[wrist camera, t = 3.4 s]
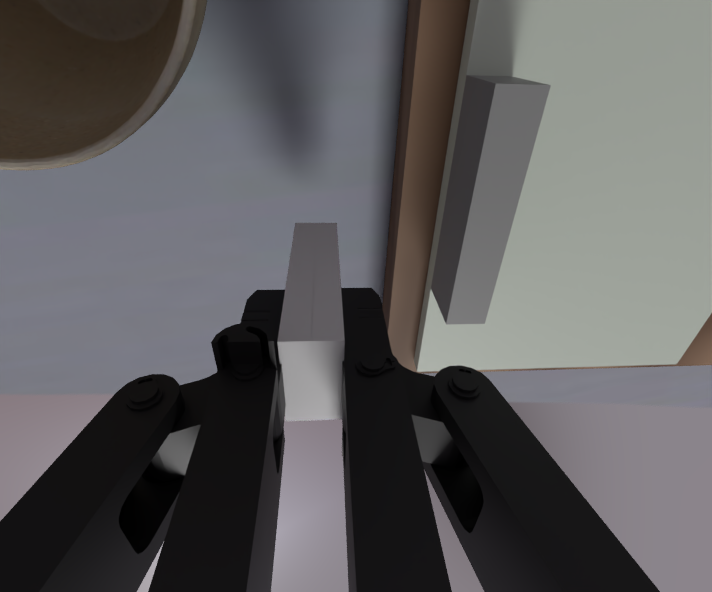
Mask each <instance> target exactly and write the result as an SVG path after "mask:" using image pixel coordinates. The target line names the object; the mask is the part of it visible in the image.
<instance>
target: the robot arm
mask: <svg viewBox="0 0 712 592" xmlns="http://www.w3.org/2000/svg"><path fill="white" fill-rule="evenodd" d="M211 343H212V348H213V352H214V357H215V361H216V365H217V370H218V371H217V373H215V374H213V375H211V376H210V377H207V378H204V379H202V380H199V381H195V382H191V383H187V384H183V385H180V386H179V384H178V383H177V381H176V380H175V379H174V378H173V377H170V376H167V375H164V374H152V375H148V376H144V377H140V378H137V379H135V380H133V381H131V382H129V383H127V384H126V385H125V386H124V387H122V388H121V389H120V390H119V391H118V392H117V393H116V394H115V395H114V396H113V397H112V398H111V399H110V400H109V401H108V403H107V404H106V405H105V406H104V407H103V408H102V409H101V410H100V412H99V413H98V414H97V415H96V416H95V417H94V418H93V419H92V420H91V422H90V423H89V424H88V425H87V426H86V427H85V428H84V429H83V430H82V431H81V433H80V434H79V435H78V436H77V437H76V438H75V439H74V440H73V441H72V443H71V444H70V445H69V446H68V447H67V448H66V449H65V450H64V451H63V453H62V454H61V455H60V456H59V457H58V458H57V459H56V460H55V461H54V462H53V464H52V465H51V466H50V467H49V468H48V469H47V470H46V471H45V472H44V474H43V475H42V476H41V477H40V478H39V479H38V480H37V481H36V483H35V484H34V485H33V486H32V487H31V488H30V489H29V490H28V491H27V492H26V494H25V495H24V496H23V497H22V498H21V499H20V500H19V501H18V502H17V504H16V505H15V506H14V507H13V508H12V509H11V510H10V511H9V513H8V514H7V515H6V516H5V517H4V518H3V519H2V520H1V521H0V592H137V590H138V588H139V586H140V584H141V583H142V581H143V579H144V577H145V575H146V573H147V572H148V570H149V568H150V566H151V564H152V562H153V560H154V559H155V557H156V555H157V553H158V551H159V549H160V547H161V546H162V544H163V547H162V550H161V553H160V556H159V559H158V563H157V566H156V569H155V572H154V575H153V579H152V582H151V585H150V588H149V591H148V592H271V582H272V572H273V560H274V551H275V540H276V529H277V519H278V518H277V517H278V508H279V497H280V486H281V476H282V465H283V454H284V443H285V438H284V429H283V426H284V416H285V420H286V421H307V420H336V419H342V422H343V432H342V456H343V465H344V486H345V487H344V488H345V510H346V511H345V512H346V535H347V558H348V582H349V592H452V591H451V587H450V582H449V578H448V574H447V569H446V564H445V560H444V556H443V551H442V547H441V542H440V538H439V534H438V529H437V525H436V520H435V516H434V512H433V508H432V503H431V498H430V494H429V490H428V486H427V481H426V476H425V472H424V470H425V471H426V474H427V476H428V478H429V480H430V482H431V484H432V486H433V488H434V490H435V492H436V494H437V496H438V498H439V500H440V502H441V504H442V506H443V508H444V510H445V512H446V514H447V516H448V518H449V520H450V522H451V524H452V526H453V529H454V531H455V533H456V535H457V537H458V538H459V541H460V543H461V545H462V547H463V549H464V551H465V553H466V555H467V557H468V559H469V561H470V563H471V565H472V567H473V569H474V571H475V573H476V575H477V577H478V579H479V581H480V583H481V585H482V587H483V590H484V591H485V592H660V591H659V590H658V589H657V587H656V586H655V585H654V584H653V583H652V581H651V580H650V579H649V578H648V576H647V575H646V574H645V573H644V572H643V570H642V569H641V568H640V566H639V565H638V564H637V563H636V561H635V560H634V559H633V558H632V557H631V555H630V554H629V553H628V551H627V550H626V549H625V548H624V547H623V545H622V544H621V543H620V542H619V540H618V539H617V538H616V537H615V535H614V534H613V533H612V532H611V531H610V529H609V528H608V527H607V525H606V524H605V523H604V522H603V520H602V519H601V518H600V517H599V516H598V514H597V513H596V512H595V510H594V509H593V508H592V507H591V506H590V504H589V503H588V502H587V500H586V499H585V498H584V497H583V496H582V494H581V493H580V492H579V491H578V489H577V488H576V487H575V486H574V484H573V483H572V482H571V481H570V479H569V478H568V477H567V476H566V475H565V473H564V472H563V471H562V470H561V468H560V467H559V466H558V465H557V463H556V462H555V461H554V459H553V458H552V457H551V456H550V455H549V453H548V452H547V451H546V450H545V448H544V447H543V446H542V445H541V443H540V442H539V441H538V440H537V438H536V437H535V436H534V435H533V433H532V432H531V431H530V430H529V428H528V427H527V426H526V425H525V424H524V422H523V421H522V420H521V419H520V417H519V416H518V415H517V414H516V413H515V411H514V410H513V409H512V407H511V406H510V405H509V404H508V402H507V401H506V400H505V399H504V397H503V396H502V395H501V394H500V392H499V391H498V390H497V389H496V387H495V386H494V385H493V384H492V382H491V381H490V380H489V379H488V378H487V377H486V376H484V375H483V374H482V373H481V372H479V371H477V370H475V369H473V368H470V367H465V366H461V365H457V366H448V367H446V368H443V369H441V370H440V371H439V372H438V373H437V374H436V376H435V377H434V376H429V375H425V374H421V373H417V372H414V371H411V370H409V369H407V368H405V367H403V366H402V365H401V364H400V363H399V362H398V360H397V358H396V357H395V356H394V355H393V353H392V351H391V346H390V341H389V337H388V332H387V327H386V323H385V319H384V313H383V310H382V304H381V299H380V297H379V295H378V294H377V293H376V292H375V291H374V290H373V289H372V288H341V279H340V264H339V250H338V235H337V223H295V229H294V235H293V242H292V248H291V255H290V262H289V268H288V275H287V281H286V288H285V290H256V291H255V292H254V293H253V294H252V295H251V296H250V297H249V298H248V299H247V302H246V305H245V309H244V313H243V316H242V319H241V323H240V324H236V325H233V326H230V327H228V328H225V329H224V330H222V331H221V332H220V333H218V334H217V335H216V336H215V338H214V339H213V341H212V342H211ZM163 542H164V543H163Z"/></svg>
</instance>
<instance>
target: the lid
mask: <svg viewBox="0 0 712 592" xmlns="http://www.w3.org/2000/svg"><path fill="white" fill-rule="evenodd" d="M711 313H712V0H470V7H469V13H468V19H467V26H466V32H465V38H464V45H463V51H462V58H461V64H460V70H459V77H458V83H457V89H456V96H455V102H454V108H453V115H452V121H451V128H450V134H449V140H448V147H447V153H446V159H445V166H444V172H443V178H442V185H441V191H440V198H439V204H438V210H437V217H436V223H435V229H434V236H433V242H432V248H431V255H430V261H429V268H428V274H427V280H426V287H425V293H424V299H423V306H422V312H421V318H420V325H419V331H418V338H417V344H416V350H415V357H414V363H415V367H416V370H417V372H427V371H440V370H441V369H443V368H446V367H448V366H457V365H461V366H465V367H470V368H473V369H475V370H496V369H531V368H566V367H600V366H635V365H670V364H677V363H678V362H679V360H680V359H681V357H682V356H683V354H684V353H685V351H686V350H687V348H688V347H689V345H690V344H691V343H692V341H693V340H694V338H695V337H696V335H697V334H698V332H699V331H700V329H701V328H702V326H703V325H704V323H705V322H706V321H707V319H708V318H709V316H710V315H711Z"/></svg>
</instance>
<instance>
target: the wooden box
mask: <svg viewBox="0 0 712 592" xmlns="http://www.w3.org/2000/svg"><path fill="white" fill-rule="evenodd" d="M469 7H470V0H409V1H408V12H407V24H406V36H405V48H404V59H403V71H402V83H401V94H400V106H399V118H398V129H397V141H396V153H395V164H394V176H393V188H392V199H391V211H390V223H389V234H388V246H387V258H386V269H385V281H384V293H383V304H382V310H383V313H384V319H385V323H386V327H387V332H388V337H389V341H390V346H391V351H392V353H393V355H394V356H395V357H396V358H397V360H398V362H399V363H400V364H401V365H402V366H403V367H405V368H407V369H409V370H411V371H414V372H417V370H416V367H415V363H414V357H415V350H416V344H417V338H418V331H419V325H420V318H421V312H422V306H423V299H424V293H425V287H426V280H427V274H428V268H429V261H430V255H431V248H432V242H433V236H434V229H435V223H436V217H437V210H438V204H439V198H440V191H441V185H442V178H443V172H444V166H445V159H446V153H447V147H448V140H449V134H450V128H451V121H452V115H453V108H454V102H455V96H456V89H457V83H458V77H459V70H460V64H461V58H462V51H463V45H464V38H465V32H466V26H467V19H468V13H469ZM693 365H712V313H711V315H710V316H709V318H708V319H707V321H706V322H705V323H704V325H703V326H702V328H701V329H700V331H699V332H698V334H697V335H696V337H695V338H694V340H693V341H692V343H691V344H690V345H689V347H688V348H687V350H686V351H685V353H684V354H683V356H682V357H681V359H680V360H679V362H678V363H677V364H670V365H635V366H600V367H566V368H531V369H496V370H477V371H479V372H488V371H522V370H556V369H591V368H625V367H659V366H693ZM438 372H439V371H427V372H417V373H438Z"/></svg>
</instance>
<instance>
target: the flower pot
mask: <svg viewBox="0 0 712 592" xmlns="http://www.w3.org/2000/svg"><path fill="white" fill-rule="evenodd" d="M206 4H207V0H0V169H3V170H41V169H51V168H58V167H64V166H68V165H72V164H76V163H79V162H82V161H85V160H88V159H90V158H93V157H95V156H98V155H100V154H103V153H104V152H106V151H108V150H110V149H112V148H113V147H115V146H117V145H118V144H120V143H121V142H123V141H124V140H125V139H127V138H128V137H129V136H131V135H132V134H133V133H134V132H136V131H137V130H138V129H139V128H140V127H141V126H142V125H143V124H145V123H146V122H147V121H148V120H149V119H150V118H151V117H152V116H153V115H154V114H155V113H156V112H157V111H158V110H159V108H160V107H161V106H162V105H163V104H164V102H165V101H166V100H167V99H168V97H169V96H170V94H171V93H172V92H173V90H174V89H175V87H176V85H177V84H178V82H179V80H180V78H181V77H182V75H183V73H184V72H185V70H186V68H187V66H188V64H189V62H190V60H191V57H192V55H193V52H194V50H195V47H196V44H197V41H198V38H199V35H200V31H201V27H202V24H203V20H204V15H205V10H206Z"/></svg>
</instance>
